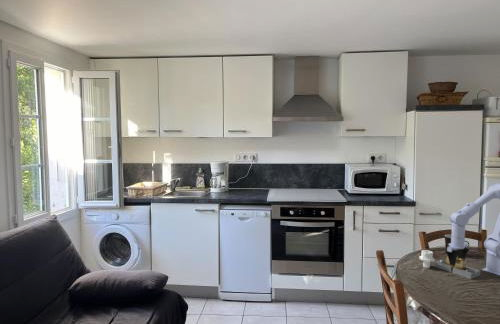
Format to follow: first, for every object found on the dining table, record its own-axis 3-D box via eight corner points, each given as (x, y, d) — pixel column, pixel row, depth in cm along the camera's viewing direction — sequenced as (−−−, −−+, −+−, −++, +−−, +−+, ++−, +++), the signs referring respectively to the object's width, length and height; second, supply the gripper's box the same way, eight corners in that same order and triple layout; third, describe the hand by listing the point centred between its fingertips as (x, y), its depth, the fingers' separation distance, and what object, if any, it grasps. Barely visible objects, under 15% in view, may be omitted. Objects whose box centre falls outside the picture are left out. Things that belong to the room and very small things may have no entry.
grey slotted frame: (479, 275, 169) (480, 269, 169) (470, 279, 165) (471, 272, 164) (443, 263, 184) (443, 258, 184) (434, 266, 180) (434, 260, 180)
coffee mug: (440, 252, 202) (441, 235, 201) (450, 250, 206) (451, 233, 205) (459, 258, 192) (460, 241, 191) (469, 256, 195) (470, 239, 194)
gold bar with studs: (465, 273, 172) (466, 259, 172) (462, 274, 171) (462, 260, 170) (449, 267, 179) (449, 254, 178) (445, 268, 177) (446, 255, 177)
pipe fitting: (430, 264, 183) (430, 249, 182) (435, 269, 176) (436, 254, 175) (417, 263, 184) (418, 249, 183) (422, 269, 177) (423, 253, 176)
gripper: (457, 232, 180) (456, 258, 181) (441, 236, 173) (440, 263, 174) (472, 236, 174) (470, 262, 175) (456, 240, 167) (454, 268, 168)
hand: (456, 263), depth 174 cm, fingers open, 7 cm apart
